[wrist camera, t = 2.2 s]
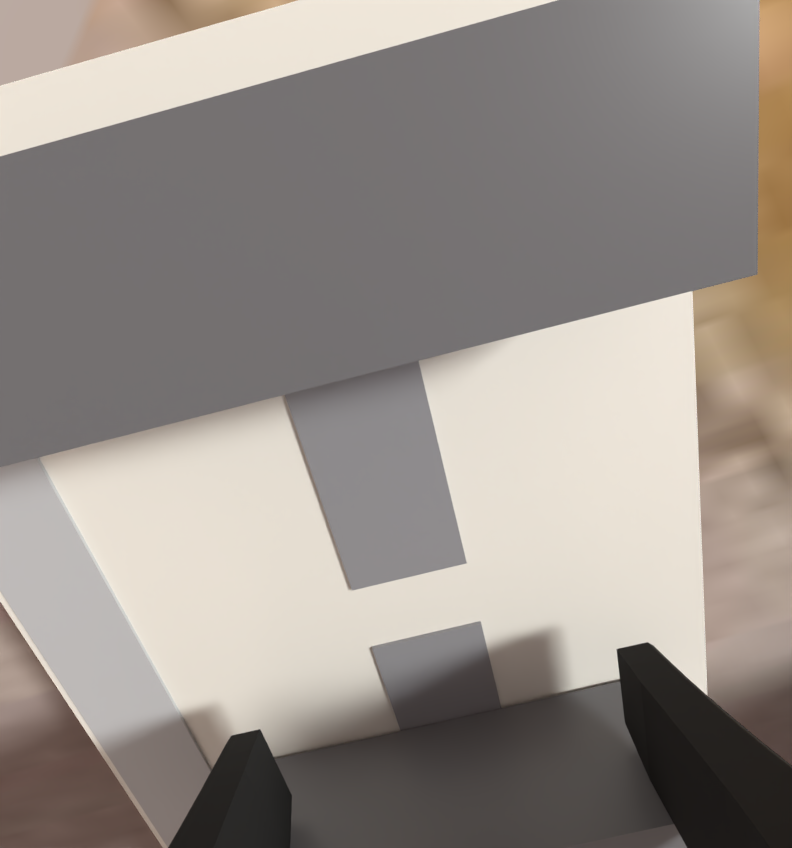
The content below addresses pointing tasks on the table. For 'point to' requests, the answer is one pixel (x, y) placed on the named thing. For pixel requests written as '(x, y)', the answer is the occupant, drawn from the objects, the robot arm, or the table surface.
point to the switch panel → (351, 495)
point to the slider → (375, 214)
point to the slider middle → (485, 783)
